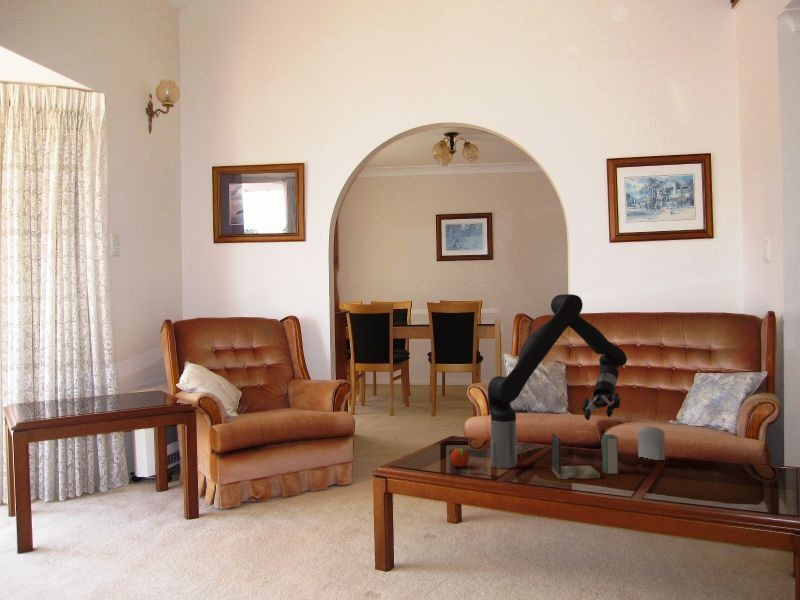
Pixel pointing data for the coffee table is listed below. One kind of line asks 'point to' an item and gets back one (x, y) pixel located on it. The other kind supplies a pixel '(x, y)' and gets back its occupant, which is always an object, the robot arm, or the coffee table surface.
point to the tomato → (459, 457)
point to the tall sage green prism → (610, 454)
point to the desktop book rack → (569, 471)
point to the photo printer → (651, 443)
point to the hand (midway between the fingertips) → (597, 417)
